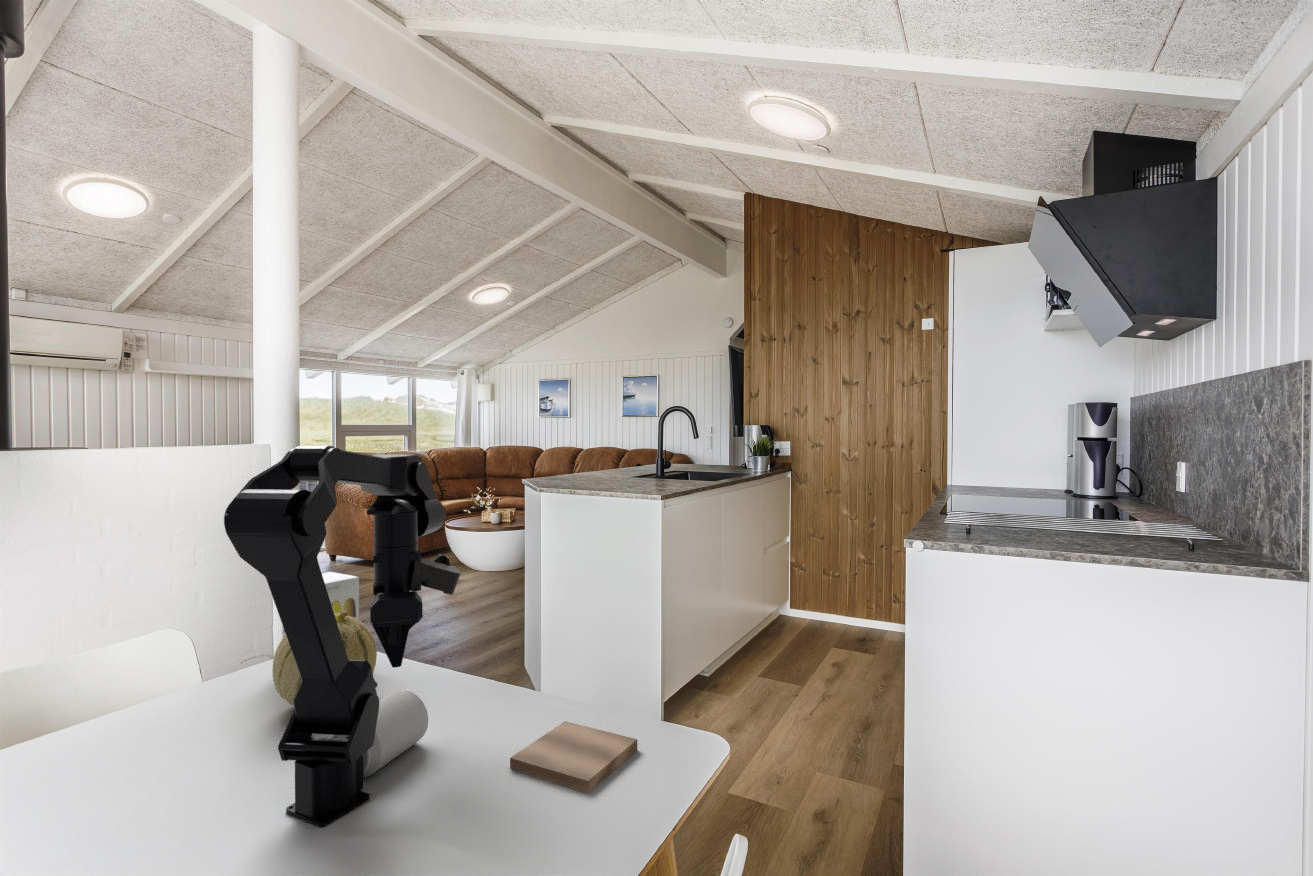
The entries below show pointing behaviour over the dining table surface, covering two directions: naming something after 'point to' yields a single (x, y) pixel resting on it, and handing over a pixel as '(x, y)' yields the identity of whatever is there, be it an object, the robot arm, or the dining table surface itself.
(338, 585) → the supplement box
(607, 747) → the walnut block
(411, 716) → the can
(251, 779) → the dining table surface
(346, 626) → the cantaloupe
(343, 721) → the robot arm
